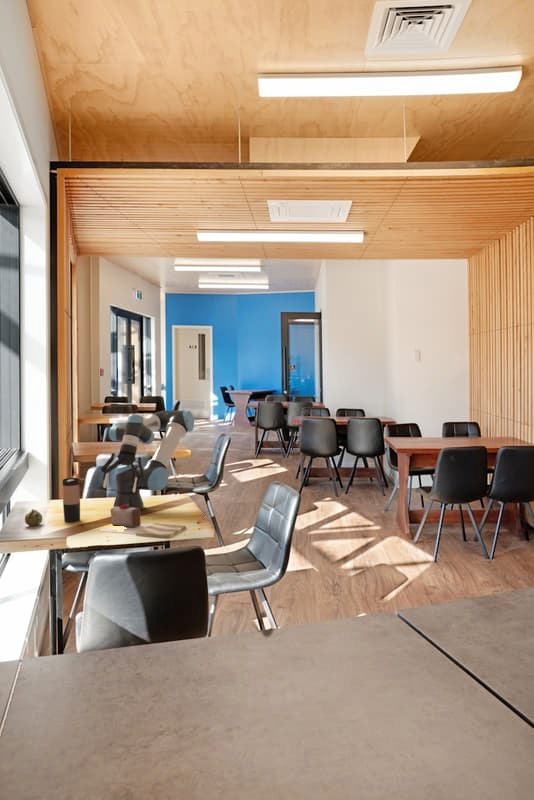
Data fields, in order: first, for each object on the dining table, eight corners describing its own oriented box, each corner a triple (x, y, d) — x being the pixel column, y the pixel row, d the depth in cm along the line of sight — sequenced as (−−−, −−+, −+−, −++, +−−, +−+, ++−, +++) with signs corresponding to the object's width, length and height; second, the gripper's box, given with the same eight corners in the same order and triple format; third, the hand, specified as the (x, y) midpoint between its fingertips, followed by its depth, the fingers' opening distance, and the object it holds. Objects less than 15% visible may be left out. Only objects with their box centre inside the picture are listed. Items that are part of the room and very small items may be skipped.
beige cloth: (155, 525, 272) (154, 523, 272) (186, 528, 267) (185, 525, 267) (135, 535, 258) (135, 532, 257) (168, 538, 252) (168, 535, 252)
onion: (46, 523, 279) (46, 507, 278) (33, 528, 272) (33, 511, 271) (34, 522, 282) (34, 505, 281) (21, 526, 275) (20, 509, 274)
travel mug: (76, 517, 289) (74, 477, 288) (83, 520, 284) (82, 479, 282) (61, 520, 284) (59, 479, 283) (68, 523, 278) (66, 481, 277)
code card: (119, 521, 280) (119, 521, 280) (152, 524, 274) (152, 524, 274) (98, 530, 265) (98, 530, 265) (133, 534, 259) (133, 533, 259)
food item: (108, 526, 272) (107, 504, 272) (119, 521, 280) (118, 501, 279) (132, 529, 267) (132, 507, 266) (143, 524, 274) (142, 503, 274)
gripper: (101, 439, 277) (90, 483, 269) (154, 447, 278) (144, 491, 270) (104, 444, 284) (93, 487, 276) (156, 452, 285) (146, 495, 277)
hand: (118, 489), depth 273 cm, fingers open, 13 cm apart
